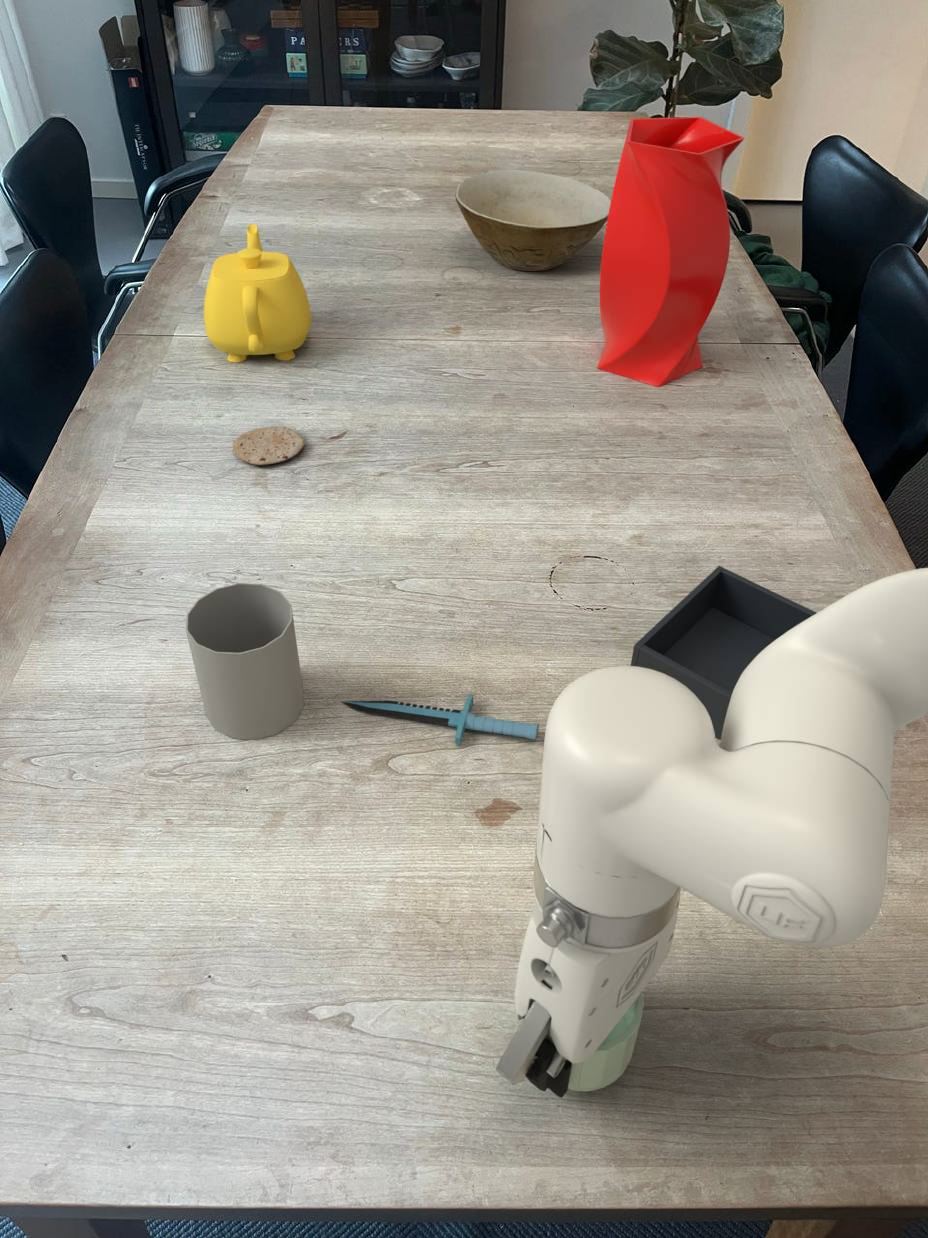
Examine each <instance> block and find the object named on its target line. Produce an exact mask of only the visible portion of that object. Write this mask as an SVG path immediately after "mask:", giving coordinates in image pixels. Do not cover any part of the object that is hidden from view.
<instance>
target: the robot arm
mask: <svg viewBox="0 0 928 1238" xmlns="http://www.w3.org/2000/svg"><path fill="white" fill-rule="evenodd" d="M927 715H928V567H921V568H920V567H919V568H916V569H915V568H914V569H910V570H905V571H901V572H898V573H897V572H896V573H894V574H891V575H888V576H885V577H882V578H879V579H876V580H874V581H872V582H870V583H867V584H864V585H863V586H861V587H860V588H857V589H855V590H853V591H851V592H850V593H848V594H846V595H845V596H843V597H841V598H840V599H837V600H836V601H834V602H832V603H831V604H829V605H827V606H826V607H823V609H821V610H820V611H817V612H816V614H815V615H813V616H811V617H810V618H808V619H806V620H805V621H803V622H801V623H800V624H798V625H797V626H795V627H794V628H792V629H790V630H789V631H787V632H786V633H784V634H783V635H782V636H780V637H779V638H777V639H776V640H775V641H773V642H772V643H771V644H770V645H768V646H767V647H766V648H765V649H763V650H762V651H761V652H760V653H759V654H758V655H757V656H756V657H755V658H754V660H753V661H752V662H751V663H750V664H749V665H748V666H747V667H746V669H745V670H744V671H743V673H742V674H741V676H740V678H739V680H738V682H737V684H736V686H735V688H734V690H733V693H732V696H731V699H730V703H729V706H728V710H727V714H726V718H725V722H724V726H723V731H722V735H721V740H719V744H718V742H717V738H716V737H715V732H714V729H713V725H712V721H711V718H710V716H709V714H708V712H707V710H706V708H705V707H704V705H703V704H702V703H701V701H700V700H699V699H698V698H697V697H696V695H695V694H694V693H693V692H692V691H691V690H689V689H688V688H687V687H686V686H685V685H683V684H682V683H680V682H679V681H677V680H676V679H674V678H672V677H670V676H668V675H666V674H664V673H661V672H658V671H655V670H652V669H648V668H643V667H637V666H631V665H612V666H607V667H601V668H598V669H594V670H591V671H590V672H587V673H585V674H583V675H581V676H580V677H578V678H576V679H575V680H573V681H572V682H570V683H569V684H568V685H567V686H566V687H565V688H564V689H563V690H562V691H561V693H560V694H559V695H558V697H557V698H556V699H555V700H554V702H553V705H552V707H551V709H550V711H549V713H548V717H547V720H546V726H545V731H544V740H543V741H544V743H543V753H542V765H541V767H542V768H541V777H540V778H541V780H540V792H539V803H538V804H539V805H538V815H537V829H536V842H535V851H534V863H533V876H532V877H533V878H532V892H533V897H534V901H535V902H534V903H535V905H534V908H532V909H533V910H532V911H531V912H532V913H531V915H530V918H529V921H528V925H527V929H526V932H525V936H524V939H523V943H522V947H521V952H520V956H519V962H518V965H517V966H518V967H517V972H516V979H515V989H514V1009H515V1014H516V1017H517V1019H518V1020H519V1021H521V1020H522V1021H521V1023H520V1025H519V1027H518V1028H517V1030H516V1031H515V1034H514V1035H513V1036H512V1039H511V1040H510V1042H509V1044H508V1045H507V1047H506V1049H505V1051H504V1053H503V1054H502V1056H501V1058H500V1060H499V1061H498V1063H497V1065H496V1066H495V1071H496V1072H497V1073H498V1074H500V1075H501V1077H503V1078H504V1079H505V1080H506V1081H508V1083H510V1084H511V1085H512V1086H516V1085H517V1084H520V1083H521V1082H523V1081H525V1080H526V1079H527V1080H528V1081H529V1082H530V1083H531V1084H532V1085H533V1086H534V1087H535V1088H537V1089H538V1090H539V1091H542V1092H546V1091H547V1090H549V1091H551V1092H552V1093H553V1094H554V1095H555V1096H557V1097H558V1098H560V1099H562V1098H563V1097H564V1096H565V1095H566V1094H567V1092H568V1090H569V1089H568V1084H569V1078H570V1072H571V1066H572V1063H580V1062H583V1061H585V1060H587V1059H588V1058H589V1057H590V1056H591V1055H592V1054H593V1053H594V1052H595V1051H596V1050H597V1049H598V1047H599V1046H600V1045H601V1044H602V1042H603V1041H604V1040H605V1039H606V1037H607V1036H608V1035H609V1034H610V1032H611V1031H612V1030H613V1028H614V1027H615V1026H616V1025H617V1023H618V1022H619V1021H620V1019H621V1018H622V1017H623V1016H624V1014H625V1013H626V1012H627V1010H628V1009H629V1008H630V1007H631V1005H632V1004H633V1003H634V1001H635V1000H636V999H637V997H638V996H639V995H640V993H641V992H642V993H643V991H644V990H645V988H646V987H647V986H648V984H650V982H651V980H652V979H653V978H654V976H655V975H656V973H657V972H658V971H659V969H660V967H662V966H663V963H664V962H665V961H666V959H667V957H668V955H669V953H670V950H671V948H672V944H673V940H674V935H675V929H676V924H677V919H678V914H679V909H680V907H679V906H680V901H681V893H682V891H681V890H684V891H686V892H688V893H689V894H691V895H692V896H694V897H696V898H697V899H699V900H700V901H702V902H705V904H708V905H710V906H711V907H713V908H714V909H716V910H718V911H720V912H721V913H722V914H723V913H724V914H725V915H727V916H728V917H730V918H732V919H734V920H736V921H738V922H740V923H741V924H743V925H745V926H748V927H749V928H751V929H753V930H754V931H756V932H758V933H759V934H761V935H763V936H764V937H767V938H769V939H772V940H774V941H777V942H780V943H784V944H789V945H794V946H801V947H805V948H814V949H830V948H837V947H842V946H845V945H848V944H850V943H852V942H855V941H857V940H858V939H860V938H861V937H863V935H864V934H866V933H867V932H868V931H869V929H871V927H872V926H873V925H874V923H875V921H876V920H877V917H878V915H879V913H880V910H881V908H882V906H883V905H882V904H883V899H884V895H885V890H886V880H887V868H888V867H887V866H888V865H887V864H888V846H889V832H890V830H889V829H890V815H891V814H890V812H891V811H890V810H891V796H892V779H893V761H894V748H895V736H896V735H895V734H896V732H898V731H899V730H901V729H902V728H904V727H905V726H907V725H909V724H911V723H913V722H914V721H916V720H918V719H920V718H922V717H925V716H927ZM547 1033H549V1034H550V1035H551V1037H552V1040H553V1042H554V1045H555V1046H554V1045H553V1044H552V1043H550V1042H549V1041H548V1040H547V1039H545V1036H546V1034H547ZM571 1062H572V1063H571Z"/></svg>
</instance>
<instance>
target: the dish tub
mask: <svg viewBox="0 0 928 1238" xmlns="http://www.w3.org/2000/svg"><path fill="white" fill-rule="evenodd" d="M816 613H817V612H816V611H814V610H812V609H809V608H808V607H806V606H804V605H802V604H800V603H798V602H796V601H794V600H792V599H789V598H787V597H786V596H783V595H781V594H779V593H777V592H774V591H773V590H770V589H769V588H766V587H765V586H762V585H760V584H758V583H756V582H754V581H752V580H750V579H747V578H746V577H743V576H741V575H739V574H738V573H736V572H734V571H731V570H729V569H727V568H725V567H723V566H721V565H718V566H717V567H716V568H715V569H714V570H713V571H712V572H710V573H709V574H708V575H707V576H706V577H705V578H704V579H703V580H702V581H701V582H700V583H699V584H697V586H696V587H695V588H693V589H692V590H691V591H690V592H689V593H688V594H686V596H685V597H684V598H682V600H681V601H679V603H677V604H676V606H675V607H673V608H672V609H671V610H670V611H669V612H668V613H667V614H666V615H664V616H663V617H662V618H661V619H660V620H659V621H658V622H657V623H656V624H655V625H654V626H653V627H652V628H651V629H649V630H648V631H647V632H646V633H645V634H644V635H643V636H642V637H640V638H639V640H638V641H637V642H636V643H635V644H634V645H633V650H632V655H631V661H630V666H637V667H643V668H648V669H652V670H655V671H658V672H661V673H664V674H666V675H668V676H670V677H672V678H674V679H676V680H677V681H679V682H680V683H682V684H683V685H685V686H686V687H687V688H688V689H689V690H691V691H692V692H693V693H694V694H695V695H696V697H697V698H698V699H699V700H700V701H701V703H702V704H703V705H704V707H705V708H706V710H707V712H708V714H709V716H710V718H711V721H712V725H713V729H714V732H715V739H717V740H719V741H720V740H721V735H722V731H723V726H724V722H725V718H726V714H727V710H728V706H729V703H730V699H731V696H732V693H733V690H734V688H735V686H736V684H737V682H738V680H739V678H740V676H741V674H742V673H743V671H744V670H745V669H746V667H747V666H748V665H749V664H750V663H751V662H752V661H753V660H754V658H755V657H756V656H757V655H758V654H759V653H760V652H761V651H762V650H763V649H765V648H766V647H767V646H768V645H770V644H771V643H772V642H773V641H775V640H776V639H777V638H779V637H780V636H782V635H783V634H784V633H786V632H787V631H789V630H790V629H792V628H794V627H795V626H797V625H798V624H800V623H801V622H803V621H805V620H806V619H808V618H810V617H811V616H813V615H815V614H816Z"/></svg>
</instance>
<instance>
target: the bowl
mask: <svg viewBox="0 0 928 1238" xmlns="http://www.w3.org/2000/svg"><path fill="white" fill-rule="evenodd" d="M454 197H455V201H456V203H457V206H458V208H459V210H460V212H461V214H462V216H463V218H464V220H465V222H466V224H467V225H468V228H469V229H470V231H471V233H472V234H473V236H474V237H475V239H476V240H477V242H478V243H479V245H480V246H481V247H482V248H483V249H484V251H485V252H486V253H487V254H488V255H489V256H490V257H491V258H492V259H493V260H494V261H495V262H496V263H498V264H500V265H502V266H504V267H506V268H509V269H513V270H518V271H527V272H535V271H548V270H552V269H555V268H556V267H559V266H560V265H563V264H564V263H565V262H567V261H568V260H570V259H571V258H572V257H574V256H575V255H576V254H577V253H578V252H580V251H581V250H582V249H583V248H584V247H585V246H586V245H588V243H589V242H590V241H592V240H593V238H594V237H595V236H596V235H598V233H599V232H600V231H601V229H602V228H603V227H604V225H606V224H607V219H608V214H609V209H610V204H611V199H610V198H609V197H608V196H607V194H605V193H604V192H603V191H601V190H599V189H597V188H595V187H594V186H591V185H589V184H587V183H584V182H582V181H580V180H576V179H574V178H570V177H566V176H562V175H557V174H553V173H546V172H538V171H531V170H523V169H505V168H504V169H493V170H487V171H484V172H480V173H478V174H475V175H472V176H470V177H468V178H466V179H463V180H462V181H461V182H460V183H459V184H458V186H457V187H456V190H455V194H454Z"/></svg>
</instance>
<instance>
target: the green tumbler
mask: <svg viewBox="0 0 928 1238" xmlns="http://www.w3.org/2000/svg"><path fill="white" fill-rule="evenodd" d="M644 1006H645V999H644V994H643V991H642V992H641V993H640V995H639V996H638V997H637V999H636V1000H635V1001H634V1003H633V1004H632V1005H631V1007H630V1008H629V1009H628V1010H627V1012H626V1013H625V1014H624V1016H623V1017H622V1018H621V1019H620V1021H619V1022H618V1023H617V1025H616V1026H615V1027H614V1028H613V1030H612V1031H611V1032H610V1034H609V1035H608V1036H607V1037H606V1039H605V1040H604V1041H603V1042H602V1044H601V1045H600V1046H599V1047H598V1049H597V1050H596V1051H595V1052H594V1053H593V1054H592V1055H591V1056H590V1057H589V1058H588V1059H587V1060H585V1061H583V1062H580V1063H572V1062H571V1063H572V1066H571V1072H570V1078H569V1084H568V1090H571V1091H575V1092H576V1091H577V1092H591V1091H592V1092H593V1091H597V1090H600V1089H604V1088H606V1087H608V1086H610V1085H611V1084H613V1083H615V1082H616V1081H617V1080H618V1079H619V1078H620V1077H621V1076H622V1075H623V1074H624V1073H625V1071H626V1070H627V1068H628V1066H629V1064H630V1062H631V1060H632V1057H633V1053H634V1049H635V1046H636V1041H637V1037H638V1033H639V1029H640V1026H641V1021H642V1016H643V1013H644V1012H643V1011H644ZM545 1039H547V1040H548V1041H549V1042H550V1043H552V1044H553V1045H554V1042H553V1040H552V1037H551V1035H550V1034H549V1033H547V1034H546V1036H545ZM554 1046H555V1045H554Z"/></svg>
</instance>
